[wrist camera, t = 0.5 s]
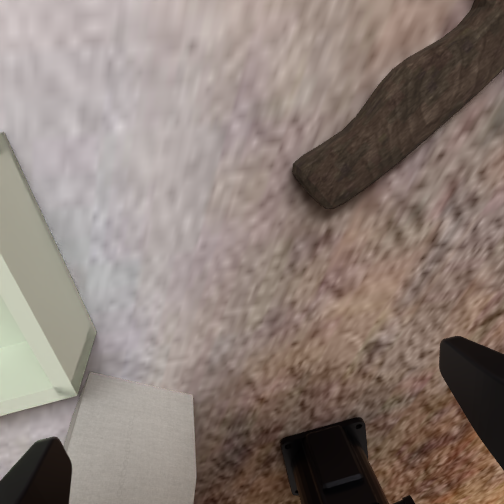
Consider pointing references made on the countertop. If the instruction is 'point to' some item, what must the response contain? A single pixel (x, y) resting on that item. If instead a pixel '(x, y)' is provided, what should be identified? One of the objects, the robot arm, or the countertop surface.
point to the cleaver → (407, 107)
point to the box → (35, 303)
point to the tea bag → (131, 444)
